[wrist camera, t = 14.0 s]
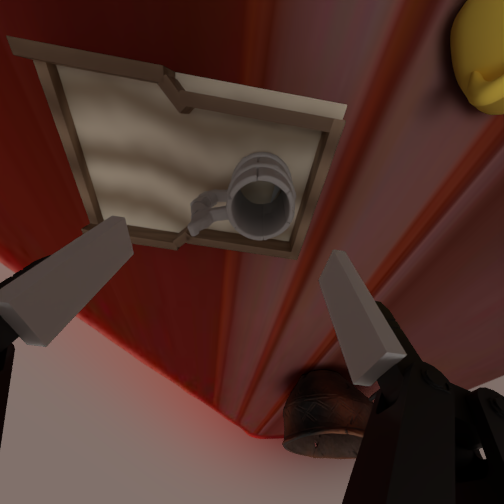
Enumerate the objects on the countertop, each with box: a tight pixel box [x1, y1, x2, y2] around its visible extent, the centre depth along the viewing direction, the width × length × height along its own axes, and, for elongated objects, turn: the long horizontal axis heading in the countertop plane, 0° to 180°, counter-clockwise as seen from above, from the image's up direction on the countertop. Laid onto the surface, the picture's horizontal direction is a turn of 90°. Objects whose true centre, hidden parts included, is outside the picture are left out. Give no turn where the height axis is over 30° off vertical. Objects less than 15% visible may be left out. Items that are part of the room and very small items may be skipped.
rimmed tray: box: [6, 36, 347, 260], centre depth 25 cm, size 20×32×4 cm, turn 81°
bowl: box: [282, 370, 373, 459], centre depth 52 cm, size 25×25×15 cm
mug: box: [187, 152, 296, 240], centre depth 21 cm, size 8×12×12 cm, turn 100°
